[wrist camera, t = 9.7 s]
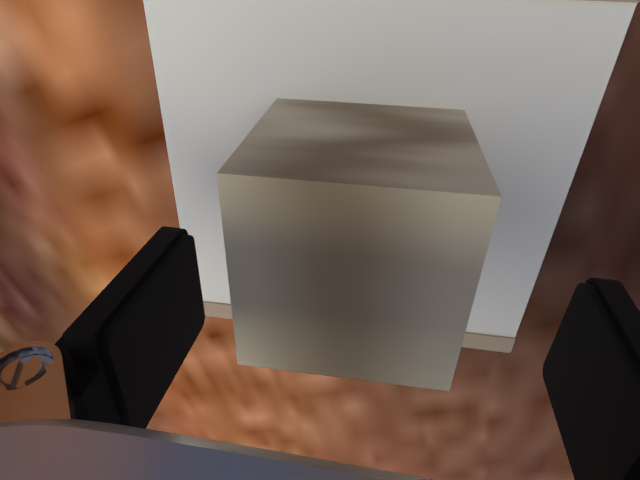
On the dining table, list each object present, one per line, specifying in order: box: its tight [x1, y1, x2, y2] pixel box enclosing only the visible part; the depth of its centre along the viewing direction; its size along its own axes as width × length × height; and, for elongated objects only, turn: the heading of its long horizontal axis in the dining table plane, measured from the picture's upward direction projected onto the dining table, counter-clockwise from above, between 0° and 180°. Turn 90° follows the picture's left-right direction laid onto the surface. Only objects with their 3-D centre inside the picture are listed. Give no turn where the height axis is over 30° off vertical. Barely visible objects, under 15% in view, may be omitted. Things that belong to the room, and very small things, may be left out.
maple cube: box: [217, 98, 502, 391], centre depth 14 cm, size 6×6×6 cm
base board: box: [143, 0, 640, 353], centre depth 17 cm, size 14×14×2 cm
